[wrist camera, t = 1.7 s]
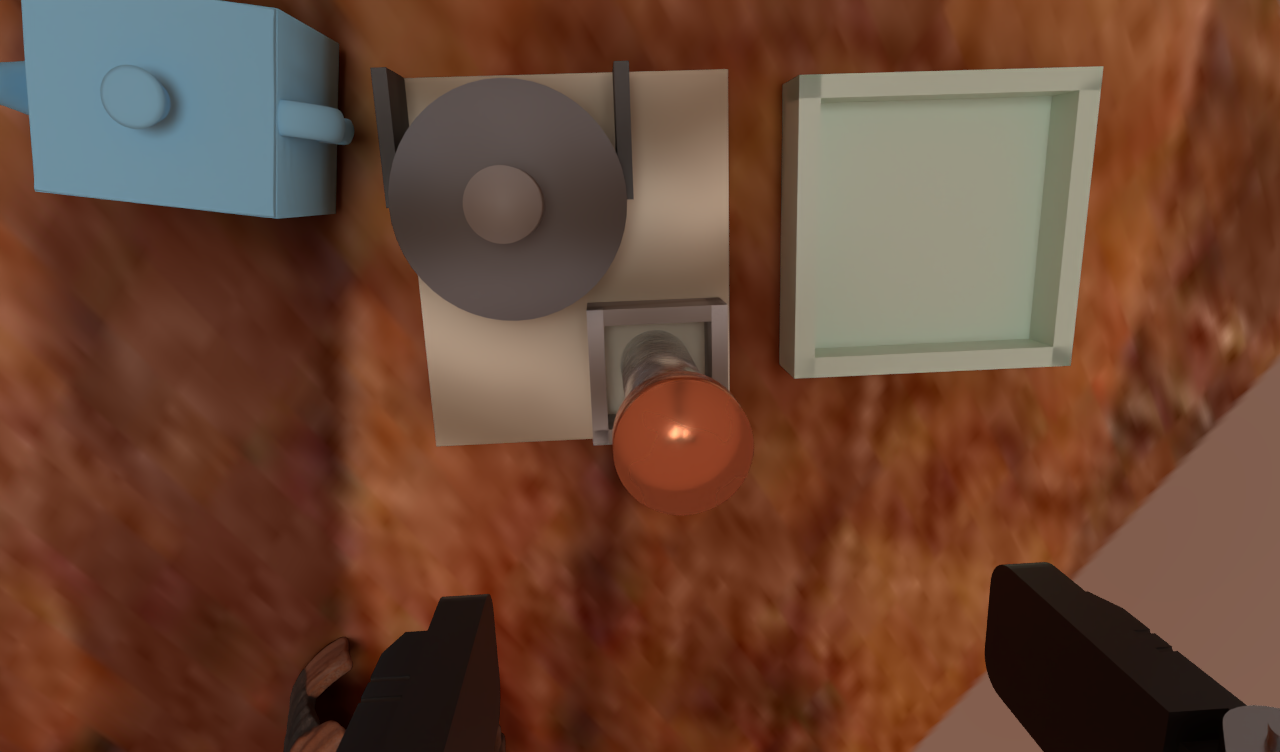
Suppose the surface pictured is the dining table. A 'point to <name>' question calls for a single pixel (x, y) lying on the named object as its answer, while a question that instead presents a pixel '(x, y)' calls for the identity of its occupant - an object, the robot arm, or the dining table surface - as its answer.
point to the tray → (933, 219)
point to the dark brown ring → (306, 738)
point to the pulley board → (646, 264)
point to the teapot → (180, 105)
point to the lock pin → (677, 430)
